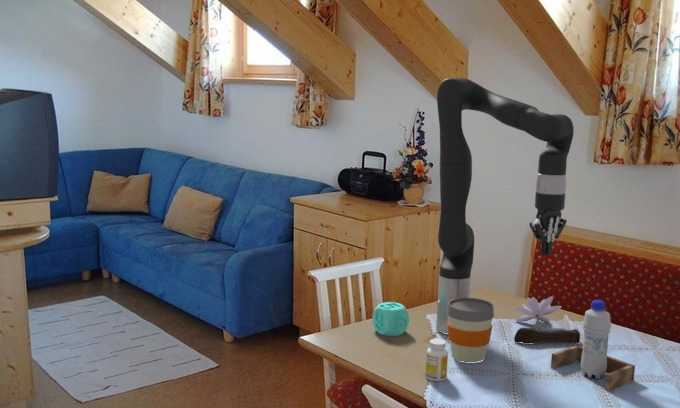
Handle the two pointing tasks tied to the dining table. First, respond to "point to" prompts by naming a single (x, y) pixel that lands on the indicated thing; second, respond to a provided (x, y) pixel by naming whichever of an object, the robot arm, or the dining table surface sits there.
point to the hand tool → (546, 335)
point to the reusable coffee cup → (469, 328)
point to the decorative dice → (390, 319)
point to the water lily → (537, 310)
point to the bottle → (595, 340)
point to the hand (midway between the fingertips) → (546, 255)
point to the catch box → (616, 369)
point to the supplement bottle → (436, 360)
